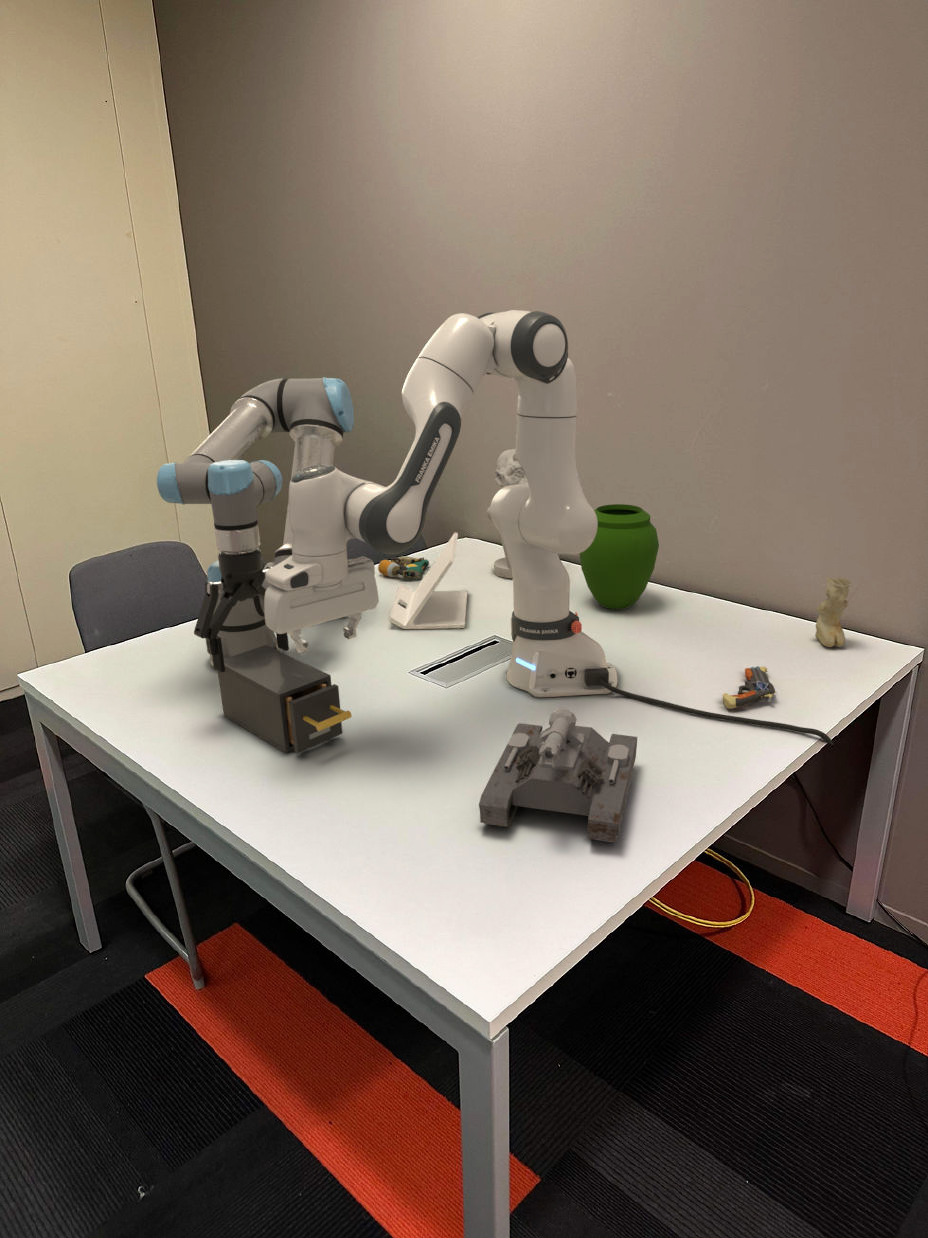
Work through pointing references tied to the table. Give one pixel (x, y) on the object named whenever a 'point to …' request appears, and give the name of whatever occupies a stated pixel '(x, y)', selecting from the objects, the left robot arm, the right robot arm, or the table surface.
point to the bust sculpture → (504, 476)
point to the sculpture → (832, 613)
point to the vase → (620, 555)
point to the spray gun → (403, 566)
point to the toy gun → (751, 689)
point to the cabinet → (265, 691)
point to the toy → (562, 775)
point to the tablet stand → (431, 599)
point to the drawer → (314, 716)
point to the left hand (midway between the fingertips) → (252, 659)
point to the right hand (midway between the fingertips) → (326, 644)
